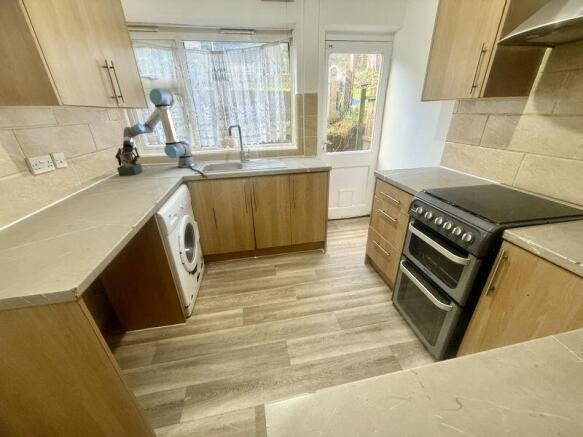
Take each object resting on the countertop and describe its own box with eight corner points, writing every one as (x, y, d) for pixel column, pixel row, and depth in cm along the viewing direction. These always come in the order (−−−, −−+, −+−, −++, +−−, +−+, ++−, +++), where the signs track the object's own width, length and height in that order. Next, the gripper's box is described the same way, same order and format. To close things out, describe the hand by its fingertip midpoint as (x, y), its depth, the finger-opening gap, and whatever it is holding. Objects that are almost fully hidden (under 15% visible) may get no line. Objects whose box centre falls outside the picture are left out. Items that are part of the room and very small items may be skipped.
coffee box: (136, 171, 215) (131, 152, 208) (137, 172, 210) (132, 153, 203) (124, 172, 210) (118, 153, 203) (125, 173, 205) (119, 154, 199)
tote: (127, 172, 216) (125, 164, 213) (142, 171, 218) (140, 163, 215) (119, 176, 203) (116, 167, 200) (135, 175, 204) (133, 166, 202)
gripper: (144, 145, 218) (144, 166, 210) (115, 146, 213) (114, 168, 205) (141, 139, 211) (140, 161, 203) (111, 141, 206) (109, 163, 199)
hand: (127, 164), depth 204 cm, fingers closed on coffee box, 10 cm apart
